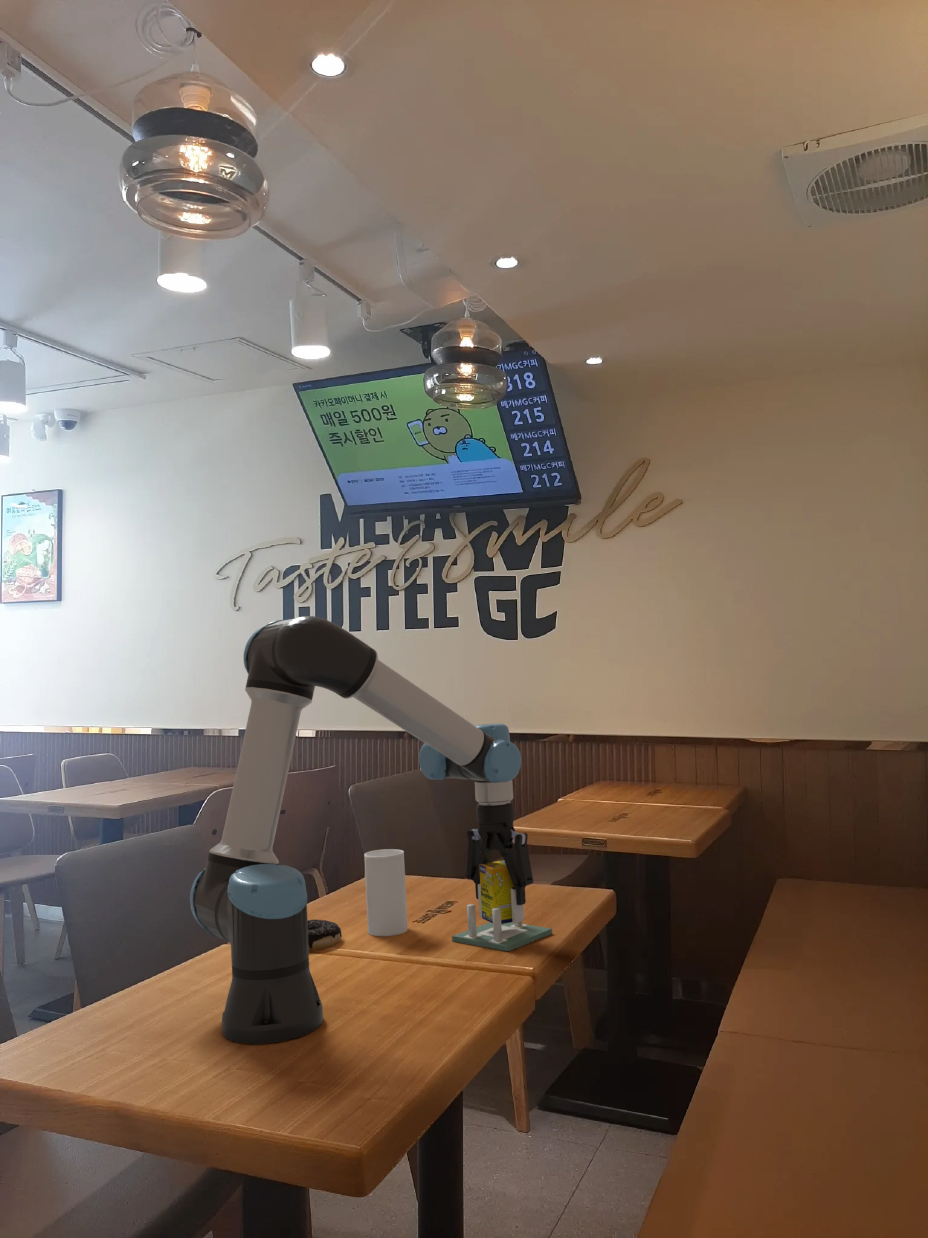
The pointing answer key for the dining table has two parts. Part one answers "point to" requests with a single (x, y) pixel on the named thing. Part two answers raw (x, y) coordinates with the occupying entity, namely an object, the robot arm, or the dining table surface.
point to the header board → (507, 944)
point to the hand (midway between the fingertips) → (501, 918)
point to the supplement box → (496, 890)
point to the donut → (322, 934)
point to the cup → (385, 892)
